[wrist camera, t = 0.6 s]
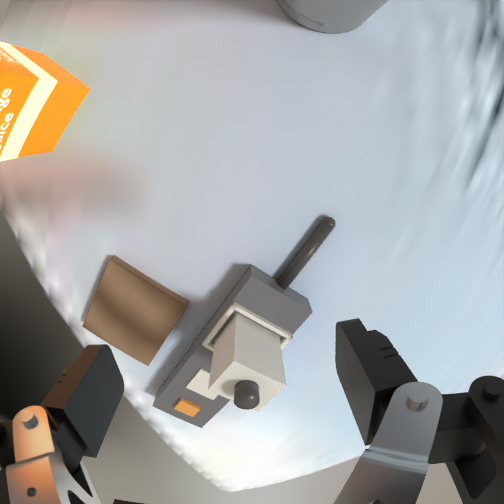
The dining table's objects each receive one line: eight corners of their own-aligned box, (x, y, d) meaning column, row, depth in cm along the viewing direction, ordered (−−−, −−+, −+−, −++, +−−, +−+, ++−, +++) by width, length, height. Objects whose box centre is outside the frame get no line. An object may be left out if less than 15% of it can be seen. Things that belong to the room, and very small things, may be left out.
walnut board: (114, 255, 30) (110, 260, 28) (188, 301, 31) (186, 307, 30) (86, 320, 32) (82, 326, 31) (150, 359, 34) (148, 366, 33)
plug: (236, 312, 29) (233, 373, 21) (279, 336, 30) (288, 398, 22) (214, 340, 30) (206, 402, 22) (256, 361, 31) (258, 424, 23)
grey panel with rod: (301, 195, 28) (308, 202, 25) (357, 236, 29) (368, 247, 26) (156, 392, 36) (151, 409, 33) (203, 414, 38) (200, 431, 35)
